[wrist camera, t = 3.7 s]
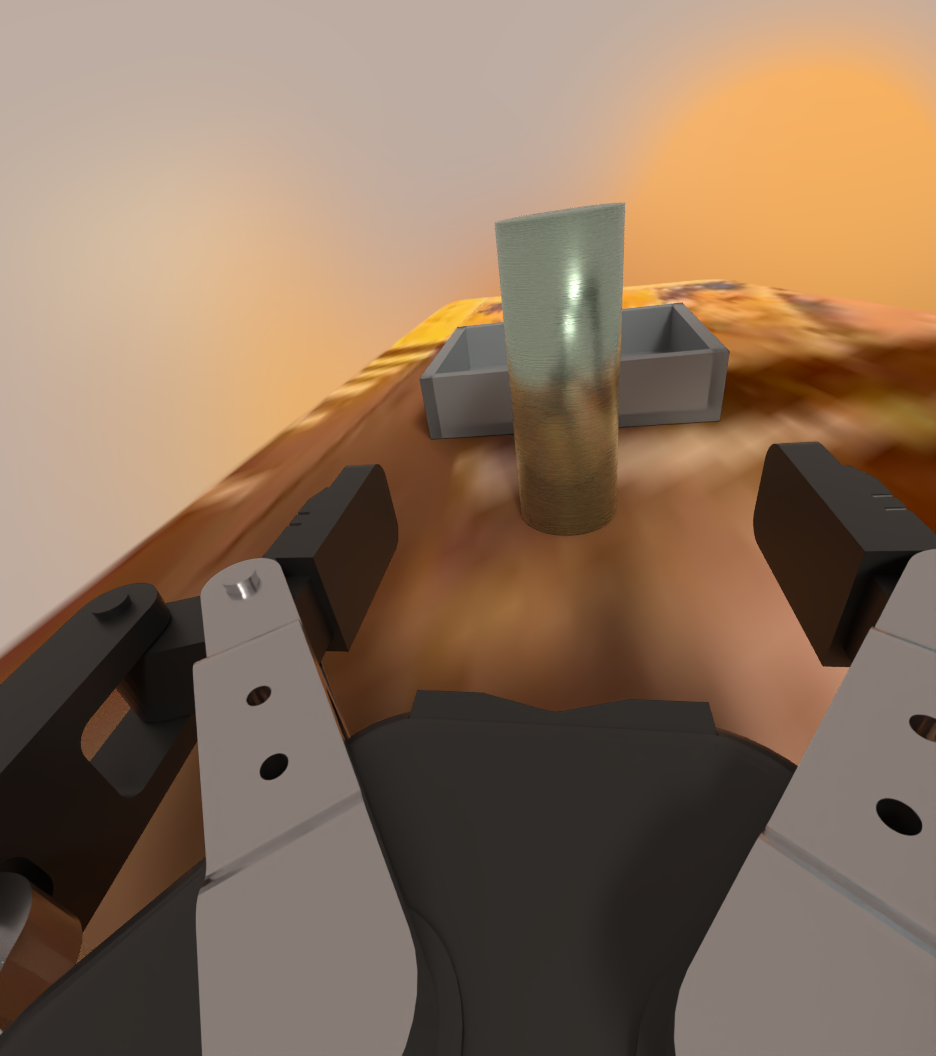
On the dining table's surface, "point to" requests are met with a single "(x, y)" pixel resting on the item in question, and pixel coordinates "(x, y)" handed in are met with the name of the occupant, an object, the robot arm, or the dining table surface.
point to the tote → (645, 375)
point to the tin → (564, 361)
